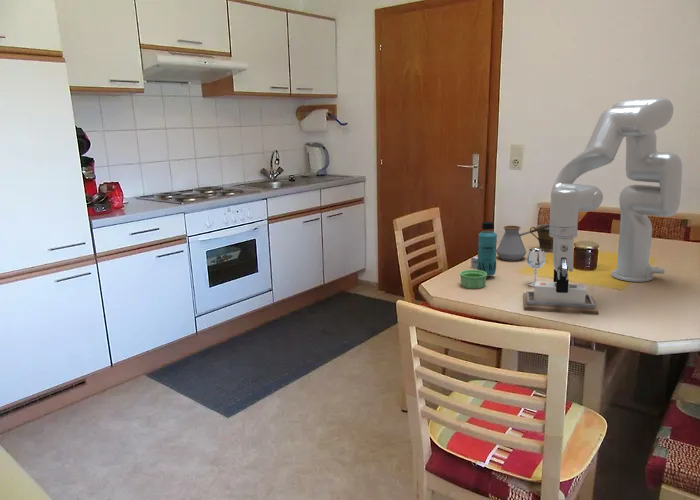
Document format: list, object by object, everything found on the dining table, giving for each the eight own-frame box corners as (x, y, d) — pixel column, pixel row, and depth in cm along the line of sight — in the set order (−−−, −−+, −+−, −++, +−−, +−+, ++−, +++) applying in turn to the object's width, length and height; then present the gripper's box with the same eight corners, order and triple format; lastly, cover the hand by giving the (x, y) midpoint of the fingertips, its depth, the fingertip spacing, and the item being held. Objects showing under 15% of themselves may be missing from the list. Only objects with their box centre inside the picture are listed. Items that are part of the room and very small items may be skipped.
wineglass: (535, 288, 171) (536, 253, 168) (522, 283, 176) (523, 249, 173) (547, 285, 174) (549, 250, 171) (534, 280, 179) (536, 247, 176)
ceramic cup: (563, 248, 220) (564, 225, 218) (558, 253, 212) (559, 229, 210) (531, 245, 227) (532, 223, 225) (526, 250, 219) (527, 227, 216)
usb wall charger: (471, 267, 198) (471, 257, 197) (484, 264, 202) (484, 254, 201) (478, 269, 195) (478, 259, 194) (492, 266, 198) (492, 256, 197)
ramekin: (454, 284, 179) (454, 271, 178) (475, 280, 183) (476, 268, 182) (470, 291, 171) (470, 278, 170) (492, 286, 175) (492, 274, 174)
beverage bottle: (474, 275, 188) (475, 220, 183) (492, 274, 188) (493, 219, 184) (480, 280, 182) (481, 224, 177) (498, 279, 182) (500, 223, 177)
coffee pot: (492, 260, 207) (493, 223, 203) (501, 253, 216) (502, 218, 212) (547, 266, 195) (549, 227, 191) (555, 259, 204) (557, 222, 201)
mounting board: (591, 299, 159) (592, 292, 158) (598, 314, 147) (599, 307, 146) (523, 295, 164) (523, 289, 164) (524, 310, 152) (524, 302, 152)
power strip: (584, 301, 155) (586, 284, 153) (584, 306, 150) (585, 290, 149) (535, 296, 160) (536, 280, 159) (533, 301, 156) (534, 285, 155)
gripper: (581, 238, 141) (577, 297, 145) (573, 224, 157) (570, 278, 161) (551, 237, 143) (548, 296, 148) (547, 224, 159) (545, 277, 164)
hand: (560, 287), depth 154 cm, fingers open, 9 cm apart
